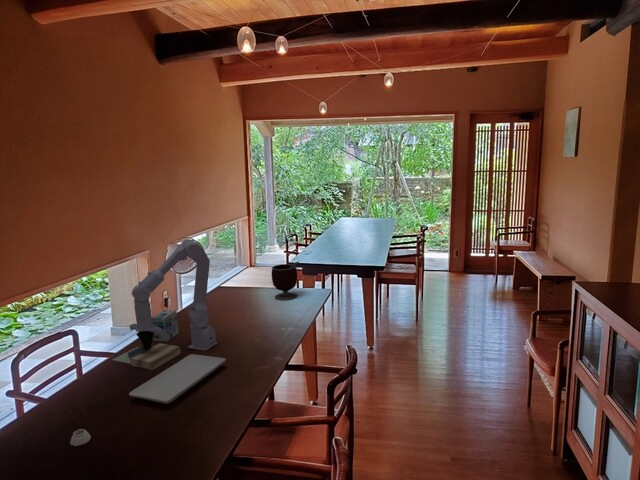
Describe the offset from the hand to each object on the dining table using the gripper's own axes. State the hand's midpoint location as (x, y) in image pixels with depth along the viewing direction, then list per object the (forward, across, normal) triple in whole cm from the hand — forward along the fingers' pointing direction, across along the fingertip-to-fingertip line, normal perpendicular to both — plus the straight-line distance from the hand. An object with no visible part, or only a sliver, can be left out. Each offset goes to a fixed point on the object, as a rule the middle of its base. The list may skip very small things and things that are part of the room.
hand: (148, 348), depth 178 cm
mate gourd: (+4, +14, +86) cm, 87 cm away
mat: (+4, -8, 0) cm, 9 cm away
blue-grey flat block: (+2, -4, 0) cm, 5 cm away
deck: (+4, +4, 0) cm, 6 cm away
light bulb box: (+4, -10, +20) cm, 22 cm away
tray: (+5, +27, -12) cm, 30 cm away
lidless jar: (+4, +23, -48) cm, 54 cm away
